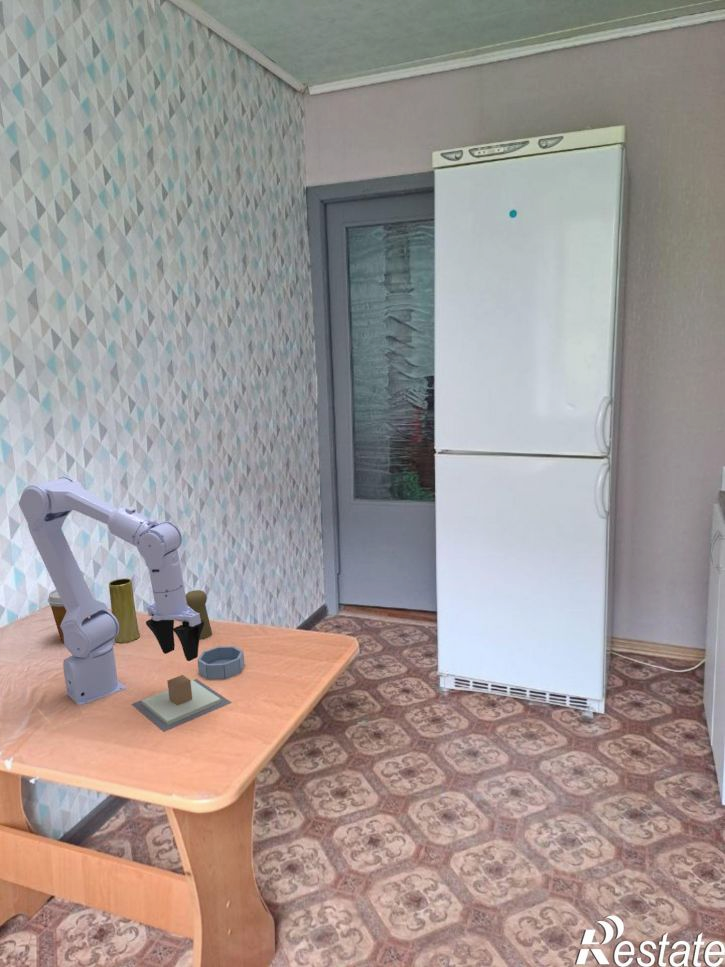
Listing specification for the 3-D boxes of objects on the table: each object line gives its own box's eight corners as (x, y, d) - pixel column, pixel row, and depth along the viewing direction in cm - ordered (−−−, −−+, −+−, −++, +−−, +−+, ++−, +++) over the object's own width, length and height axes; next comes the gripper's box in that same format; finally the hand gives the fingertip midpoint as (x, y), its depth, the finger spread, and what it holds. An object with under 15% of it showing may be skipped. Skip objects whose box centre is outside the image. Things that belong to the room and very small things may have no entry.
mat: (163, 733, 121) (163, 731, 121) (131, 706, 131) (131, 704, 131) (232, 704, 130) (231, 702, 130) (196, 680, 140) (196, 678, 140)
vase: (108, 642, 162) (101, 585, 159) (124, 631, 168) (117, 577, 165) (130, 644, 160) (123, 586, 158) (145, 633, 166) (138, 578, 163)
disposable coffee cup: (95, 627, 172) (89, 582, 169) (95, 641, 163) (89, 594, 161) (54, 634, 168) (48, 588, 166) (52, 649, 160) (45, 601, 157)
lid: (167, 725, 123) (164, 701, 122) (142, 704, 131) (139, 681, 130) (220, 702, 130) (218, 679, 129) (193, 683, 138) (191, 661, 137)
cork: (208, 639, 161) (204, 595, 159) (183, 640, 161) (178, 596, 159) (214, 629, 167) (210, 587, 164) (190, 630, 167) (185, 588, 165)
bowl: (214, 685, 138) (212, 669, 137) (192, 671, 145) (191, 656, 144) (251, 670, 144) (250, 654, 143) (229, 657, 151) (228, 642, 150)
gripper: (128, 590, 129) (141, 656, 132) (172, 599, 120) (185, 671, 122) (160, 578, 135) (172, 642, 137) (204, 586, 125) (216, 655, 127)
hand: (180, 655), depth 130 cm, fingers open, 7 cm apart
